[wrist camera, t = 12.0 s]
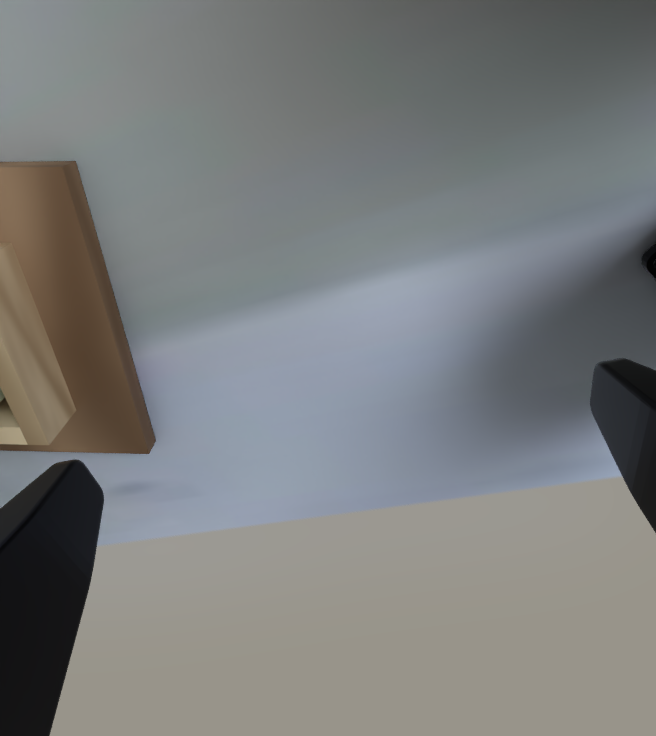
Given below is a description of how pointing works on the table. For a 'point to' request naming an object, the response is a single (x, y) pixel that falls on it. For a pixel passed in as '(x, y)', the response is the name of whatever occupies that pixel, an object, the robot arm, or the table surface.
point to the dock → (61, 323)
